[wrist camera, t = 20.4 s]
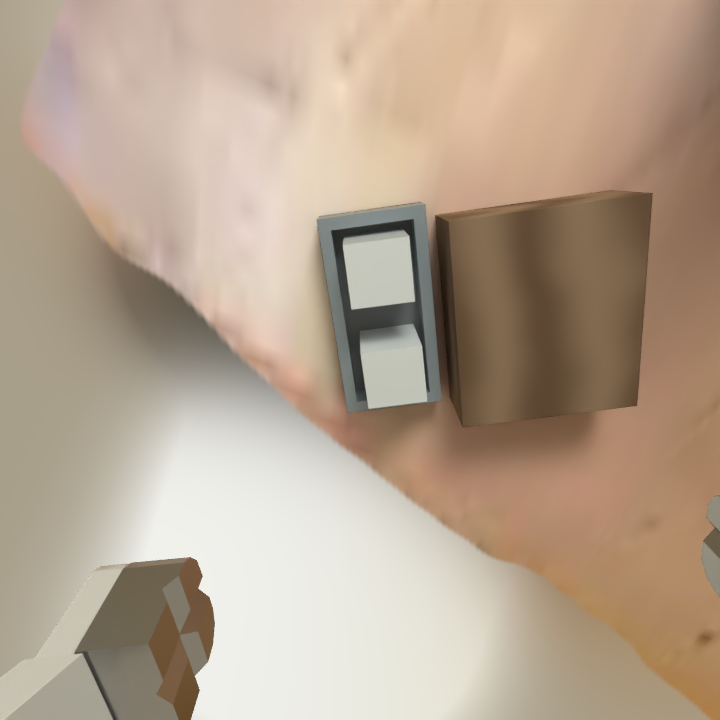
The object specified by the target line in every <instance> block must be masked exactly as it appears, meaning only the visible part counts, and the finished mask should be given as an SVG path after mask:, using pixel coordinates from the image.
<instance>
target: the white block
mask: <svg viewBox="0 0 720 720" xmlns="http://www.w3.org/2000/svg"><path fill="white" fill-rule="evenodd" d="M343 251H344V259H345V266H346V273H347V280H348V288H349V295H350V302H351V309H360V308H368V307H376V306H384V305H392V304H400V303H408V302H415V294H414V283H413V272H412V261H411V250H410V238H409V235H408V234H407V233H406V232H405V231H404V230H403V229H402V228H395V229H388V230H380V231H373V232H365V233H358V234H350V235H344V240H343Z"/></svg>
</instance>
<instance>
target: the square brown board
mask: <svg viewBox="0 0 720 720" xmlns="http://www.w3.org/2000/svg"><path fill="white" fill-rule="evenodd" d="M651 207H652V193H643V192H628V191H613V190H610V191H603V192H596V193H589V194H582V195H575V196H568V197H560V198H553V199H546V200H539V201H532V202H525V203H518V204H511V205H504V206H497V207H490V208H482V209H475V210H468V211H461V212H454V213H447V214H440V215H436V224H437V237H438V249H439V262H440V275H441V288H442V301H443V314H444V327H445V340H446V353H447V365H448V378H449V391H450V398H451V401H452V403H453V405H454V408H455V410H456V412H457V415H458V417H459V419H460V422H461V424H462V426H463V427H471V426H479V425H487V424H495V423H503V422H511V421H519V420H527V419H535V418H543V417H551V416H559V415H567V414H575V413H583V412H591V411H599V410H607V409H615V408H623V407H631V406H637V400H638V387H639V373H640V359H641V345H642V331H643V318H644V304H645V290H646V276H647V262H648V248H649V235H650V221H651Z"/></svg>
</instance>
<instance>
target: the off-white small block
mask: <svg viewBox="0 0 720 720" xmlns="http://www.w3.org/2000/svg"><path fill="white" fill-rule="evenodd" d="M360 353H361V361H362V368H363V375H364V382H365V388H366V395H367V402H368V409H372V408H380V407H388V406H396V405H404V404H412V403H420V402H427V392H426V382H425V372H424V361H423V351H422V345H421V342H420V340H419V337H418V334H417V332H416V329H415V327H414V324H407V325H400V326H392V327H385V328H377V329H370V330H362V331H360Z"/></svg>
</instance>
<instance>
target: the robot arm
mask: <svg viewBox="0 0 720 720" xmlns="http://www.w3.org/2000/svg"><path fill="white" fill-rule="evenodd" d="M706 518H707V519H708V520H709V522H710V523H711V524H712V525H713V527H714V529H713V530H712V531H711V533H710V534H709V535H708V536H707V537H706V538H705V539H704V540H703V546H702V558H701V559H702V562H703V566H704V569H705V573H706V576H707V578H708V580H709V582H710V583H711V585H712V587H713V589H714V590H715V592H716V593H717V594H718V595H719V597H720V495H718V496H714V497H713V499H712V500H711V501H710V503H709V504H708V510H707V516H706ZM201 579H202V573H201V570H200V568H199V565H198V562H197V560H195V559H193V558H191V557H189V558H178V559H167V560H156V561H145V562H134V563H130V564H120V565H108V566H101V567H99V568H98V569H96V570H94V571H93V572H92V573H91V574H90V576H89V577H88V579H87V580H86V582H85V583H84V585H83V586H82V588H81V589H80V591H79V592H78V594H77V595H76V597H75V598H74V600H73V601H72V603H71V604H70V606H69V608H68V609H67V610H66V612H65V613H64V615H63V616H62V618H61V620H60V621H59V622H58V624H57V625H56V627H55V628H54V630H53V632H52V633H51V634H50V636H49V638H48V639H47V640H46V642H45V643H44V645H43V647H42V648H41V650H40V652H39V653H38V654H37V656H36V657H35V659H27V660H23V661H22V662H20V663H19V664H18V665H17V666H15V667H14V668H13V669H11V670H10V671H9V672H7V673H6V674H5V675H3V676H2V677H1V678H0V720H191V717H192V713H193V710H194V707H195V704H196V700H197V697H198V694H199V687H198V684H197V681H196V678H195V675H196V674H197V673H198V672H199V671H200V670H201V669H202V668H203V666H204V665H205V664H206V663H207V662H208V660H209V657H210V653H211V649H212V646H213V637H214V626H215V622H214V613H213V607H212V604H211V601H210V598H209V597H208V596H207V595H206V594H204V593H203V592H202V591H201V590H199V589H198V587H199V584H200V582H201Z"/></svg>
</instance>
